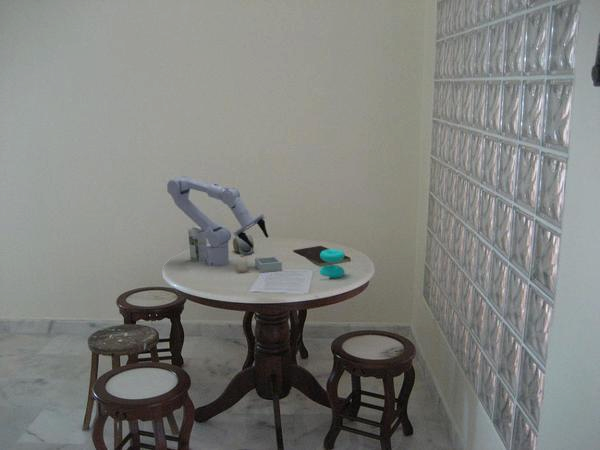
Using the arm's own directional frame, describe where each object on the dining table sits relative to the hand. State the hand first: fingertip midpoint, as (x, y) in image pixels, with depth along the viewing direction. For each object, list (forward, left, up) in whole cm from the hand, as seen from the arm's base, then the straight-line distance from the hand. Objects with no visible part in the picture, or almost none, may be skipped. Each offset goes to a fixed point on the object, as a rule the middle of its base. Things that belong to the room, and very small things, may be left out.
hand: (260, 242), depth 274 cm
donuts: (+26, -16, -13) cm, 33 cm away
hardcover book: (+31, +10, -13) cm, 35 cm away
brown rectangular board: (-2, -2, -12) cm, 13 cm away
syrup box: (-21, +24, -12) cm, 34 cm away
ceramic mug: (+1, +30, -13) cm, 32 cm away
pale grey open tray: (+3, -2, -11) cm, 11 cm away
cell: (-8, -2, -11) cm, 14 cm away
